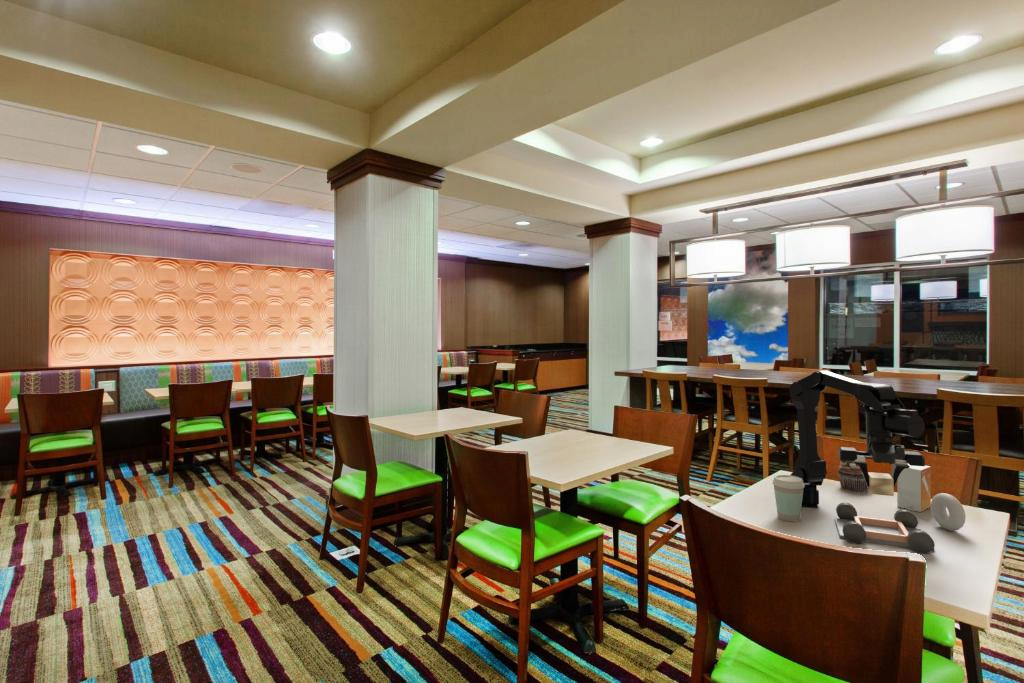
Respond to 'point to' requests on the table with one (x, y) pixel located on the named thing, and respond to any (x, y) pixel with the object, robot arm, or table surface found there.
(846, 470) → the cupcake
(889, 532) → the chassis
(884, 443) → the robot arm
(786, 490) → the coffee cup
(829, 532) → the table surface
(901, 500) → the small box
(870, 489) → the tan wooden block
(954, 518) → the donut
